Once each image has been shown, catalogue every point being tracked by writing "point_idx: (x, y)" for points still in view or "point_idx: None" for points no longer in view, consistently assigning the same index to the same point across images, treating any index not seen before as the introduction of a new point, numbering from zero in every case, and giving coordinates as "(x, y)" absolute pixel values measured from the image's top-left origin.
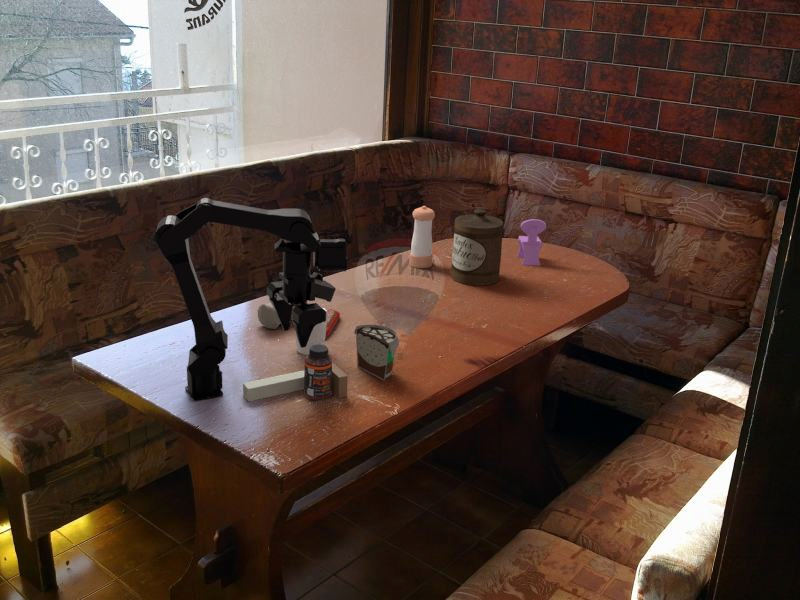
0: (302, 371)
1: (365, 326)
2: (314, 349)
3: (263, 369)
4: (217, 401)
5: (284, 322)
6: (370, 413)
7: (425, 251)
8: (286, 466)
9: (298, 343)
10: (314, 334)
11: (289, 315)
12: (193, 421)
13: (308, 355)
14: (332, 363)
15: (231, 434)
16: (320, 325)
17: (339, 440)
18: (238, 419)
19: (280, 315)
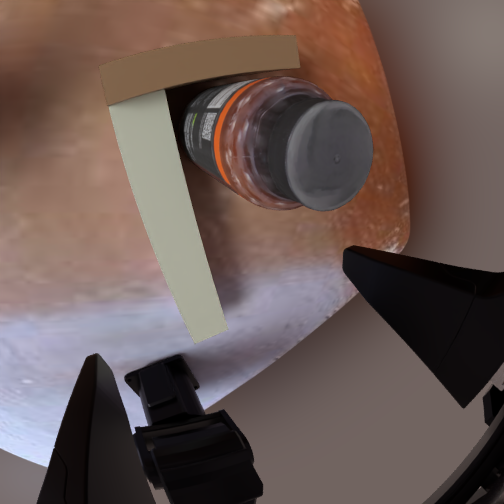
0: (134, 177)
1: None
2: (347, 189)
3: (35, 285)
4: (202, 356)
5: (122, 424)
6: (344, 38)
7: None
8: (404, 234)
9: None
10: None
11: (98, 454)
12: (261, 367)
13: (282, 198)
14: (170, 51)
15: (316, 313)
16: None
17: (395, 143)
18: (278, 312)
19: (142, 485)
